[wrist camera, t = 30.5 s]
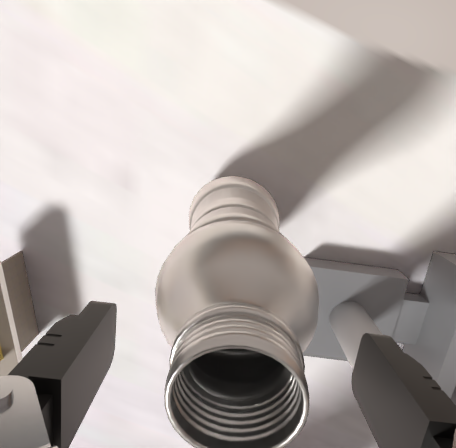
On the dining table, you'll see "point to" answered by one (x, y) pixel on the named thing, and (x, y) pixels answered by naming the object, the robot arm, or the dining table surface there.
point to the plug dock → (388, 313)
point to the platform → (15, 313)
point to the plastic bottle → (236, 322)
